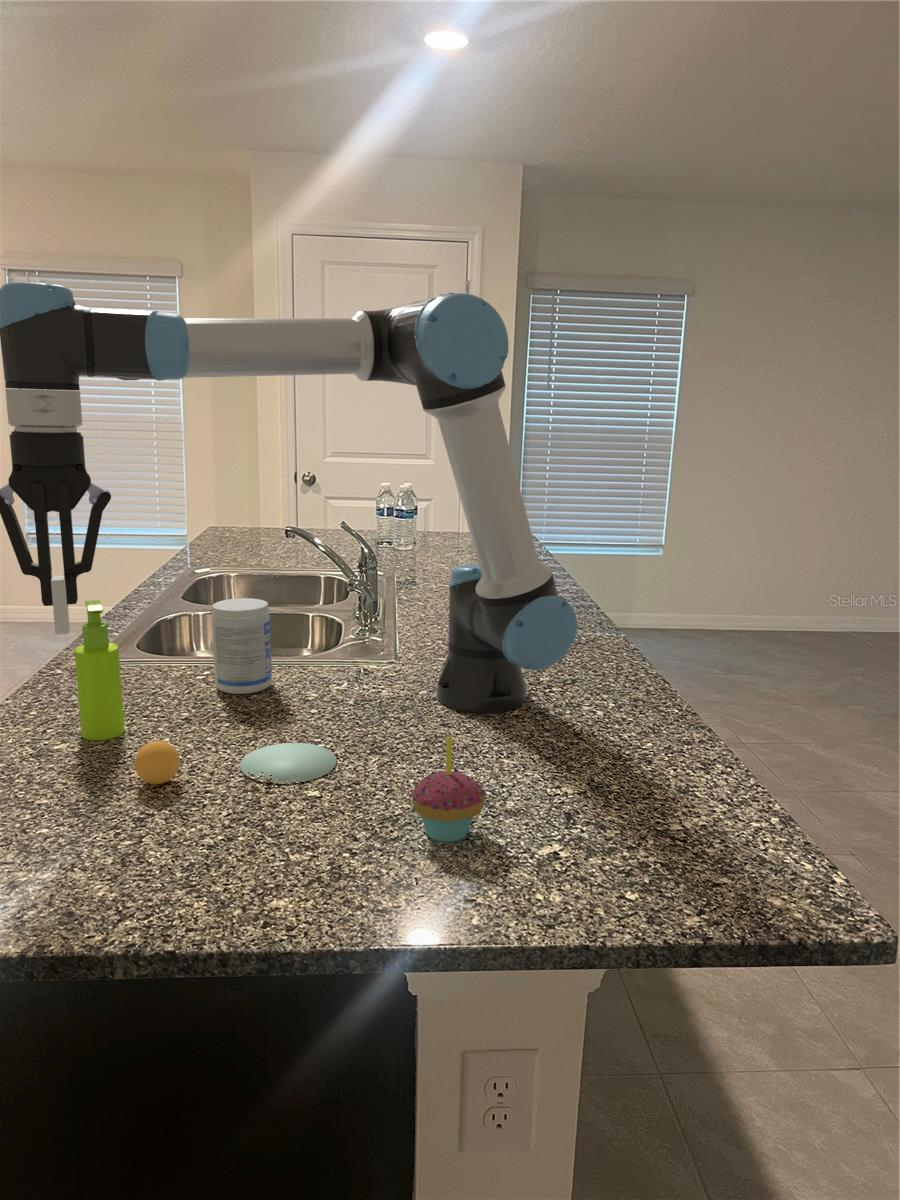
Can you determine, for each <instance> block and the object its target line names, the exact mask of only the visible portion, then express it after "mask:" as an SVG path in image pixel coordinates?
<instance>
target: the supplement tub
mask: <svg viewBox="0 0 900 1200" xmlns="http://www.w3.org/2000/svg"><path fill="white" fill-rule="evenodd" d="M211 609H212V611H211V629H212V643H213V645H212V646H213V662H214V663H213V664H214V679H215V681H214V683H215V686H216V688H217V689H218V690H219V691H221V692H224V693H226V694H232V695H233V694H234V695H247V694H254V693H258V692H262V691H264V690H265V689H268V688H269V687H270V686H271V685H272V682H273V673H272V672H273V671H272V669H273V667H272V646H271V644H272V643H271V641H272V640H271V619H270V618H271V617H270V610H269V603H268V601H266V600H263V599H258V598H250V597H249V598H248V597H247V598H246V597H245V598H244V597H243V598H230V599H229V598H228V599H223V600H220V601H216V602H215V603H213V604H212V608H211Z"/></svg>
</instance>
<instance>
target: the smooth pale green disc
mask: <svg viewBox="0 0 900 1200" xmlns="http://www.w3.org/2000/svg"><path fill="white" fill-rule="evenodd" d="M336 757H337V756H336V755H335V753H333V752H332V751H331V750H329V749H328V748H326V747H323V746H320V745H316V744H312V743H303V742H285V743H277V744H271V745H267V746H263V747H260V748H257V749H255V750H253V751H251V752H249V753H247V754H245V756H244V757H243V758H242V759H241V761H240V765H239V770H240V772H241V771H242V772H243V773H244V774H245V775H246V774H247V775H248V776H249V774H248V772H250V773H252V774H254V775H255V778H257V779H258V777H257V776H259V777H260V775H259V774H258V772H259V773H260V774H261V775H262V773H261V772H263V774H264V776H265V778H266V779H268V780H270V779H269V778H268V777H270V778H271V779H272V782H273V783H276V782H275V781H277V782H279V781H278V780H280V781H282V782H283V783H288V782H290V783H292V782H291V781H290V780H292V781H294V782H296V781H295V780H294V779H296V780H297V782H300V781H301V782H304V783H306V782H305V781H308V780H312V781H314V780H313V779H315V778H318V779H320V778H319V777H321V776H323V775H325V774H327V773H328V772H330V771H331V770H332V771H333V770H334V769H333V768H335V767H336V766H335V765H337V758H336ZM256 770H257V771H258V772H257V771H256ZM260 771H261V772H260ZM332 771H331V772H332ZM242 772H241V773H242ZM331 772H330V773H331ZM243 773H242V774H243ZM244 774H243V775H244ZM270 774H271V775H272V777H271V776H270ZM328 774H329V773H328ZM328 774H327V775H328ZM245 775H244V776H245ZM256 775H257V776H256ZM294 775H295V776H297V777H298V778H296V777H295V776H294ZM262 776H263V775H262ZM264 776H263V777H264ZM325 776H326V775H325ZM249 777H250V776H249ZM323 777H324V776H323ZM255 778H252V779H255ZM260 778H261V777H260ZM265 778H264V780H265V781H266V782H268V781H267V780H266V779H265ZM280 778H281V779H280ZM293 778H294V779H293ZM321 778H322V777H321ZM252 779H251V780H252ZM261 779H262V778H261ZM277 779H278V780H277ZM289 779H290V780H289ZM258 780H259V779H258ZM274 780H275V781H274ZM270 781H271V780H270ZM287 781H288V782H287ZM279 783H280V782H279Z"/></svg>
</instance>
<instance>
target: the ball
mask: <svg viewBox="0 0 900 1200" xmlns="http://www.w3.org/2000/svg"><path fill="white" fill-rule="evenodd" d="M180 763H181V760H180V754H179V751H178V750H177V749H176V747H174V746H173V745H172V744H171V743H169V742H167V741H163V740H154V741H150V742H148V743H147V744H145V745H143V746H142V747H140V749H139V750H138V752H137V753H136V756H135V759H134V769H135V772H136V774H137V776H138V778H140V779H141V780H142V781H144V782H146V783H147V784H150V785H162V784H165V783H167V782H168V781H170V780H172V779H173V778H174V777H175V776H176V774H177V773H178V771H179V768H180V766H181V765H180Z"/></svg>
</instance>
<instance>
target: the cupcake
mask: <svg viewBox="0 0 900 1200" xmlns="http://www.w3.org/2000/svg"><path fill="white" fill-rule="evenodd" d="M447 735H448V736H446V739H445V742H446V744H445V745H446V746H445V747H446V749H445V751H446V753H445V763H446V764H445V770H444V771H439V772H435V773H432V774H431V773H430V774H428V775H426V777H424V778H422V779H421V780H419V781H418V782H417V783H416V784H415V786H414V788H413V789H412V795H411V796H412V797H411V801H412V808H413V809H414V811H415V812H416V813H418V815H419V816H420V818H421V819H422V822H423V825H424V829H425V832H426V835H427V836H428V837H429V838H431V839H432V840H433V841H437V842H441V843H442V842H443V843H453V842H458V841H460V840H462V839H464V838H465V837H466V836H467V834H468V831H469V828H470V825H471V823H472V821H473V818H474V817H476V816H478V815H479V814H480V813H481V812H482V810H483V808H484V806H485V803H486V791H485V790H483V787H482V786H481V785H480V783H479V781H476V780H475V779H474V777H470V775H467V774H465V773H461V772H455V771H452V770H453V769H452V767H453V766H452V765H453V764H452V761H453V757H452V755H453V737H452V736H451V729H448V733H447Z"/></svg>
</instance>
